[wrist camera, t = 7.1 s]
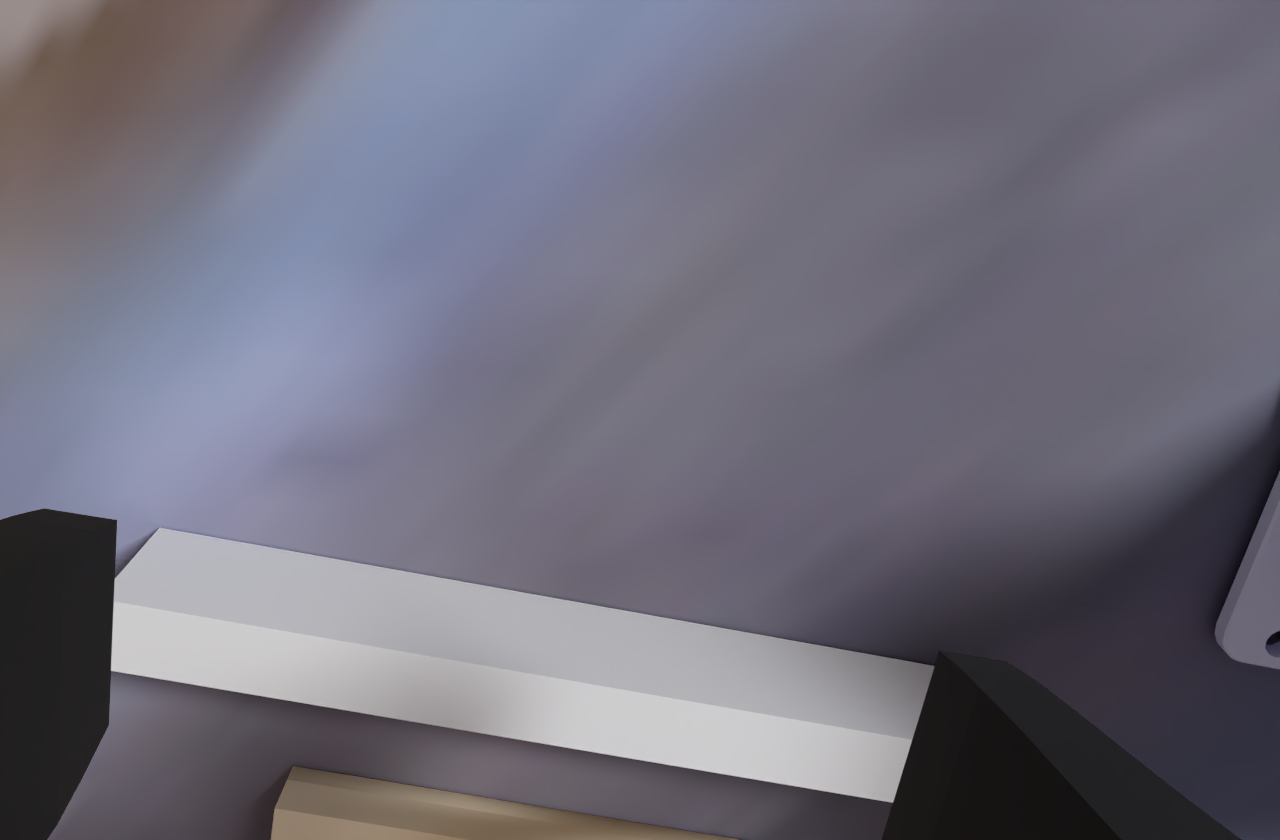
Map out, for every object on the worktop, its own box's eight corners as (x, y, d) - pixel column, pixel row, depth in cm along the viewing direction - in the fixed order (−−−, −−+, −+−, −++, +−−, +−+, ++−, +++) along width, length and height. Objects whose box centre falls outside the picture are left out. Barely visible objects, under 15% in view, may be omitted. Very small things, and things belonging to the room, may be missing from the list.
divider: (957, 670, 21) (999, 754, 19) (938, 726, 22) (976, 816, 19) (159, 527, 20) (97, 599, 18) (154, 590, 21) (93, 667, 18)
